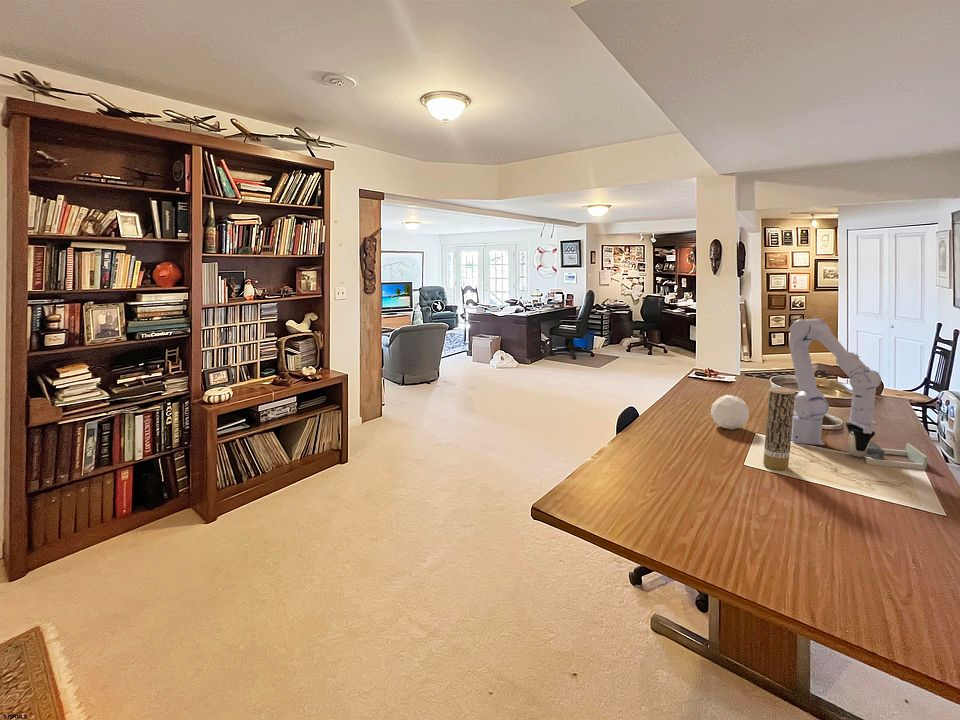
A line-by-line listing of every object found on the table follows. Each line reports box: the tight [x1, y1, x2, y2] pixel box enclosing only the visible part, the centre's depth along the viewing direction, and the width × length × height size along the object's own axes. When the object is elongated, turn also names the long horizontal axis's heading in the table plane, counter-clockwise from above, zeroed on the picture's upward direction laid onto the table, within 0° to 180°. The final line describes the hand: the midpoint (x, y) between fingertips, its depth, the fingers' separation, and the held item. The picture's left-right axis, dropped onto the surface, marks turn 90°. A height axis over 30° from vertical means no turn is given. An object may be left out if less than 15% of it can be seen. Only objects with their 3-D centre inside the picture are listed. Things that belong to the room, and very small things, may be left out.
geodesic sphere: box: [710, 393, 750, 431], centre depth 191 cm, size 14×14×14 cm
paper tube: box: [762, 386, 796, 471], centre depth 151 cm, size 7×7×25 cm
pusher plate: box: [867, 440, 885, 460], centre depth 158 cm, size 1×10×4 cm, turn 158°
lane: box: [865, 443, 929, 470], centre depth 156 cm, size 15×13×4 cm
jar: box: [847, 431, 869, 457], centre depth 159 cm, size 5×5×7 cm
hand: (857, 447), depth 159 cm, fingers closed on jar, 5 cm apart
